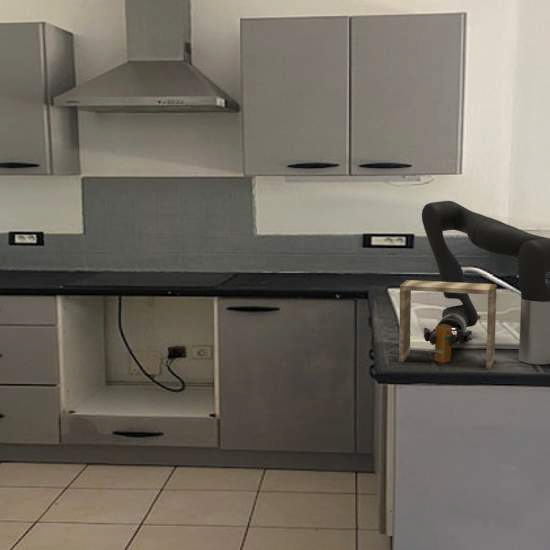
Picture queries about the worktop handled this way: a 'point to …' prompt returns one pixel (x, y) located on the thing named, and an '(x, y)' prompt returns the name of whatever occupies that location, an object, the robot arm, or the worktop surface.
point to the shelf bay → (451, 288)
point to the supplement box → (443, 343)
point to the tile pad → (422, 346)
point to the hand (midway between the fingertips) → (441, 341)
